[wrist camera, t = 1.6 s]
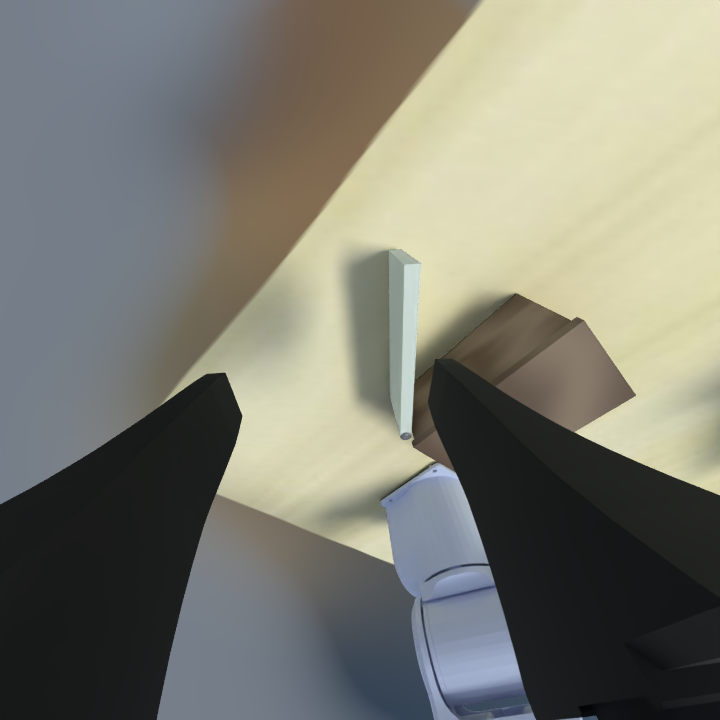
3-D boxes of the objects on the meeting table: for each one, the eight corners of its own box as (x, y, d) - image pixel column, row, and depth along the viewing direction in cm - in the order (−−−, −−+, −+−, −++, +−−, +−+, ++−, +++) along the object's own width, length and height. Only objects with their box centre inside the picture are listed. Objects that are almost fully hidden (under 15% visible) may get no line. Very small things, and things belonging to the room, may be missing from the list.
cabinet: (454, 435, 26) (480, 487, 21) (397, 396, 23) (413, 447, 18) (570, 353, 22) (636, 395, 17) (520, 290, 19) (584, 320, 14)
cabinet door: (398, 398, 23) (411, 439, 19) (390, 399, 23) (400, 440, 19) (401, 249, 16) (420, 263, 12) (388, 250, 16) (404, 264, 12)
